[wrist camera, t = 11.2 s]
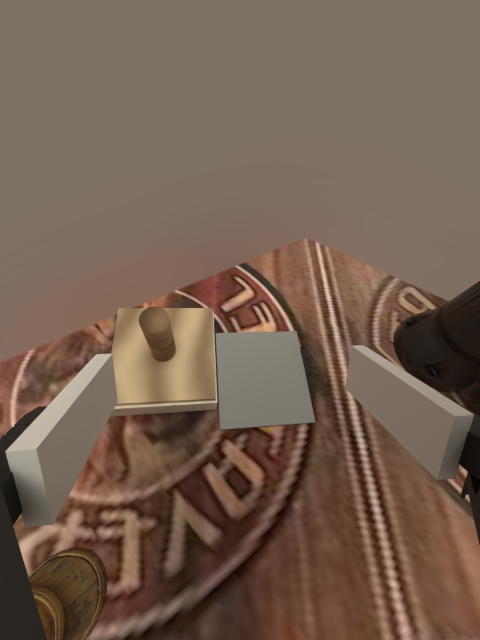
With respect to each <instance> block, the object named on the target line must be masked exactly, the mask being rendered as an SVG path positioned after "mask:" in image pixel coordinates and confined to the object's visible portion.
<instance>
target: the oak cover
mask: <svg viewBox="0 0 480 640" xmlns="http://www.w3.org/2000/svg"><path fill="white" fill-rule="evenodd" d="M111 354H112V356H113V364H114V373H115V381H116V390H117V398H118V402H117V404H116V406H124V405H142V404H160V403H179V402H197V401H215V400H216V387H215V360H214V332H213V308H161V307H156V306H154V307H149V308H141V309H118V315H117V322H116V328H115V334H114V340H113V346H112V352H111Z"/></svg>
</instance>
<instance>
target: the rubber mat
mask: <svg viewBox="0 0 480 640" xmlns="http://www.w3.org/2000/svg"><path fill="white" fill-rule="evenodd" d="M216 356H217V378H218V399H219V420H220V430H226V429H239V428H252V427H265V426H278V425H291V424H304V423H315V418H314V413H313V408H312V403H311V399H310V394H309V389H308V384H307V380H306V375H305V370H304V365H303V360H302V356H301V351H300V346H299V341H298V337H297V332H296V331H292V332H249V333H216Z"/></svg>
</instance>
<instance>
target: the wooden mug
mask: <svg viewBox="0 0 480 640" xmlns="http://www.w3.org/2000/svg"><path fill="white" fill-rule="evenodd" d="M28 578H29V581H30V585H31V588H32V591H33V595H34V598H35V601H36V605H37V608H38V611H39V615H40V618H41V621H42V624H43V628H44V631H45V634H46V638H47V640H85V639H86V638H87V637H88V636H89V635H90V634H91V632H92V630H93V628H94V626H95V624H96V623H97V621H98V619H99V616H100V614H101V611H102V609H103V606H104V602H105V597H106V592H107V577H106V573H105V568H104V565H103V564H102V562H101V560H100V558H99V557H98V556H97V555H96V554H95V553H94V552H93V551H92V550H88V549H85V548H71V549H67V550H63V551H61V552H59V553H57V554H55V555H53V556H51V557H50V558H48V559H47V560H46V561H45V562H43V563H42V564H41V565H40V566H38V567H37V568H36V569H35V570H34V571H33V572H32V573H31V575H30V576H29V577H28Z"/></svg>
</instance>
